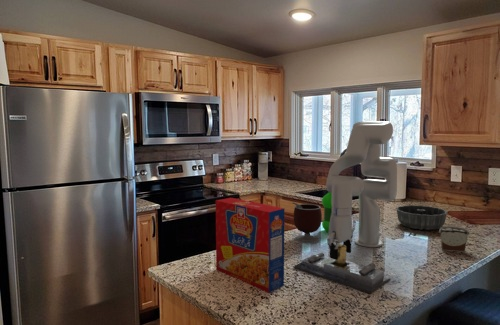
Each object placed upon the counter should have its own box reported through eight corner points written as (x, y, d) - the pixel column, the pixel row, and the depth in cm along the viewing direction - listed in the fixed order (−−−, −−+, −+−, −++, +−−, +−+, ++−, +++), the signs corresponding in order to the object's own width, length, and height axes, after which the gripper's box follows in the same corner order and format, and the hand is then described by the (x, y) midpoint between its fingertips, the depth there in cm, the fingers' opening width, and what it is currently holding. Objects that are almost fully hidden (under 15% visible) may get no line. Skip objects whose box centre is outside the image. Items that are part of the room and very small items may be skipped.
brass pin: (338, 268, 137) (338, 243, 136) (347, 271, 134) (348, 245, 133) (332, 271, 134) (333, 245, 133) (342, 274, 131) (342, 248, 130)
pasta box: (216, 269, 138) (215, 200, 136) (231, 264, 144) (230, 197, 141) (268, 293, 118) (269, 212, 116) (283, 285, 124) (284, 208, 121)
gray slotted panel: (316, 257, 151) (317, 244, 150) (390, 279, 128) (390, 264, 128) (294, 268, 139) (294, 253, 139) (370, 294, 117) (370, 277, 116)
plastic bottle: (332, 235, 183) (333, 188, 181) (317, 230, 192) (318, 185, 189) (344, 232, 189) (345, 186, 187) (329, 227, 197) (330, 184, 195)
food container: (464, 247, 164) (465, 226, 163) (468, 252, 158) (469, 230, 157) (435, 245, 167) (436, 225, 166) (438, 249, 161) (439, 228, 160)
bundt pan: (387, 226, 202) (387, 209, 201) (407, 218, 219) (408, 202, 218) (435, 236, 182) (436, 217, 181) (453, 227, 199) (454, 209, 198)
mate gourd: (311, 234, 185) (312, 197, 183) (326, 242, 172) (327, 202, 170) (285, 238, 179) (285, 199, 177) (299, 246, 166) (300, 205, 164)
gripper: (344, 206, 140) (343, 247, 142) (320, 213, 128) (319, 258, 130) (361, 209, 135) (360, 252, 137) (338, 217, 123) (337, 264, 124)
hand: (340, 255), depth 133 cm, fingers open, 9 cm apart
